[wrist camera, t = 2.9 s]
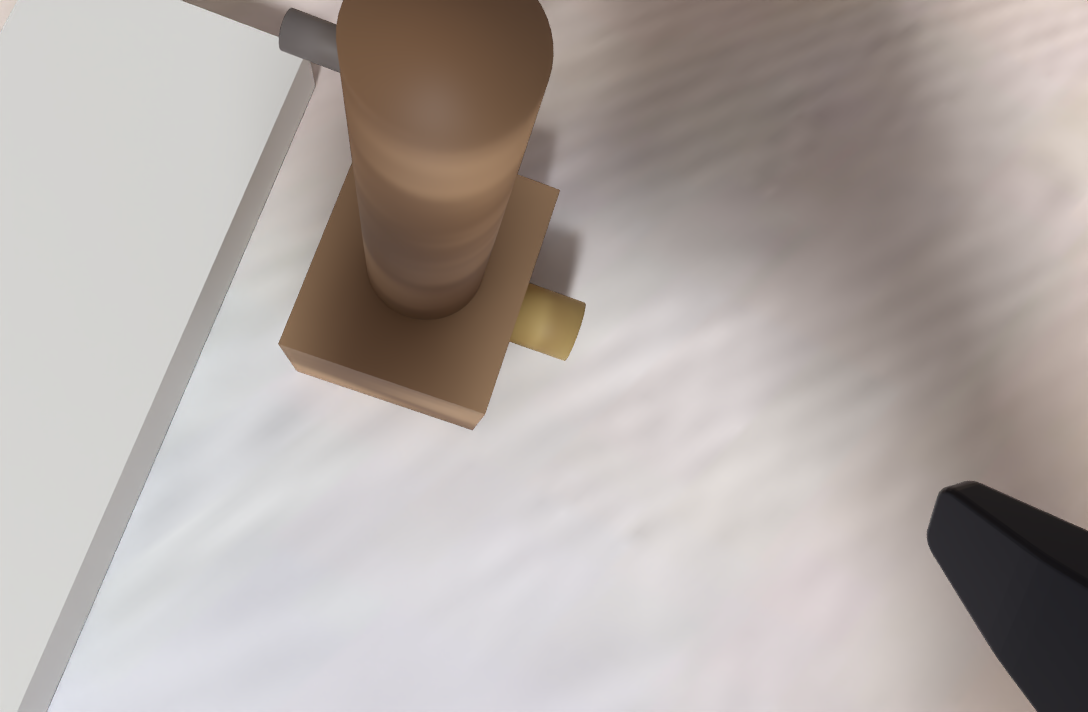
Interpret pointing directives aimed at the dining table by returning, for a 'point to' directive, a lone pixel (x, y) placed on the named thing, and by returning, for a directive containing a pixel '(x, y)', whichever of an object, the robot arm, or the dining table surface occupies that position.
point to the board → (112, 275)
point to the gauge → (430, 204)
